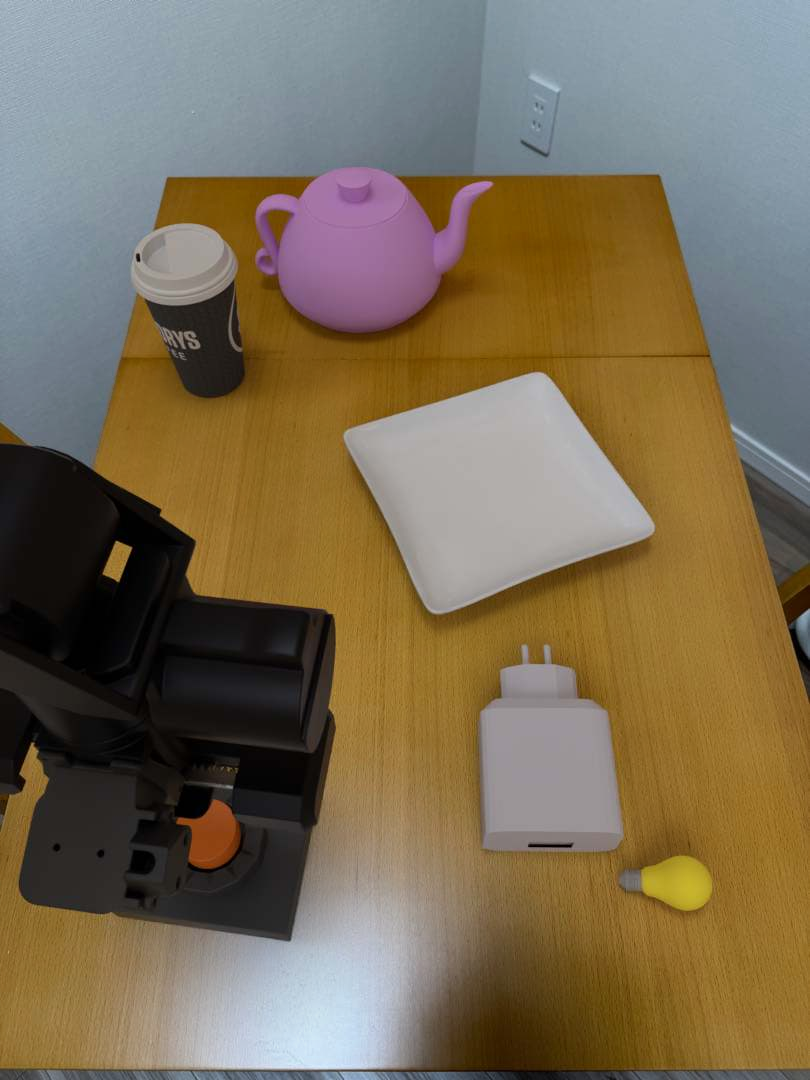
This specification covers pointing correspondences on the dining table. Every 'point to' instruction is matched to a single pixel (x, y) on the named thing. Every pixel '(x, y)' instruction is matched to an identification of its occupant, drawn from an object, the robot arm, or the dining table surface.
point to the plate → (494, 490)
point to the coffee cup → (193, 304)
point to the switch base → (241, 886)
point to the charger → (546, 764)
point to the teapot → (360, 249)
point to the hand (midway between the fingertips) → (183, 797)
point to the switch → (213, 836)
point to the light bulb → (672, 882)
